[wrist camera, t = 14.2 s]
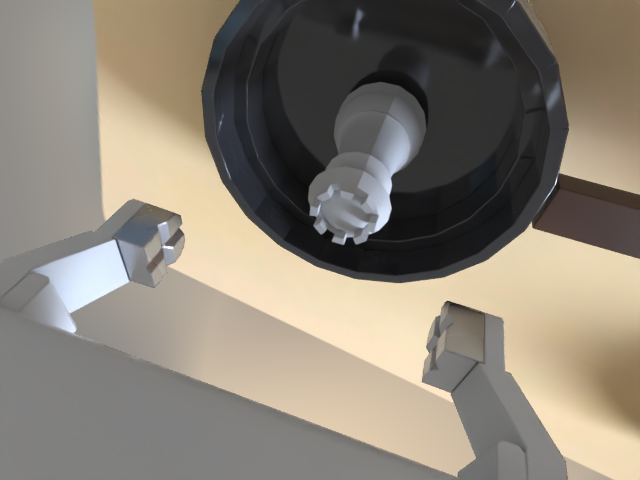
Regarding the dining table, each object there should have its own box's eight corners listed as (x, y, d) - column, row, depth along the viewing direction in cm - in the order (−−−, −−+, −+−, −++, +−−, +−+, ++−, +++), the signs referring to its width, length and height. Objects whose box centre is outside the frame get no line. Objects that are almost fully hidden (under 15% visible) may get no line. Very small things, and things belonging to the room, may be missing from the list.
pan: (244, -106, 16) (185, -101, 13) (636, -27, 14) (679, 2, 11) (244, 191, 27) (212, 234, 24) (471, 259, 25) (469, 315, 22)
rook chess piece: (357, 62, 19) (301, 144, 13) (444, 101, 19) (427, 200, 13) (328, 141, 22) (273, 234, 16) (403, 174, 22) (374, 279, 16)
